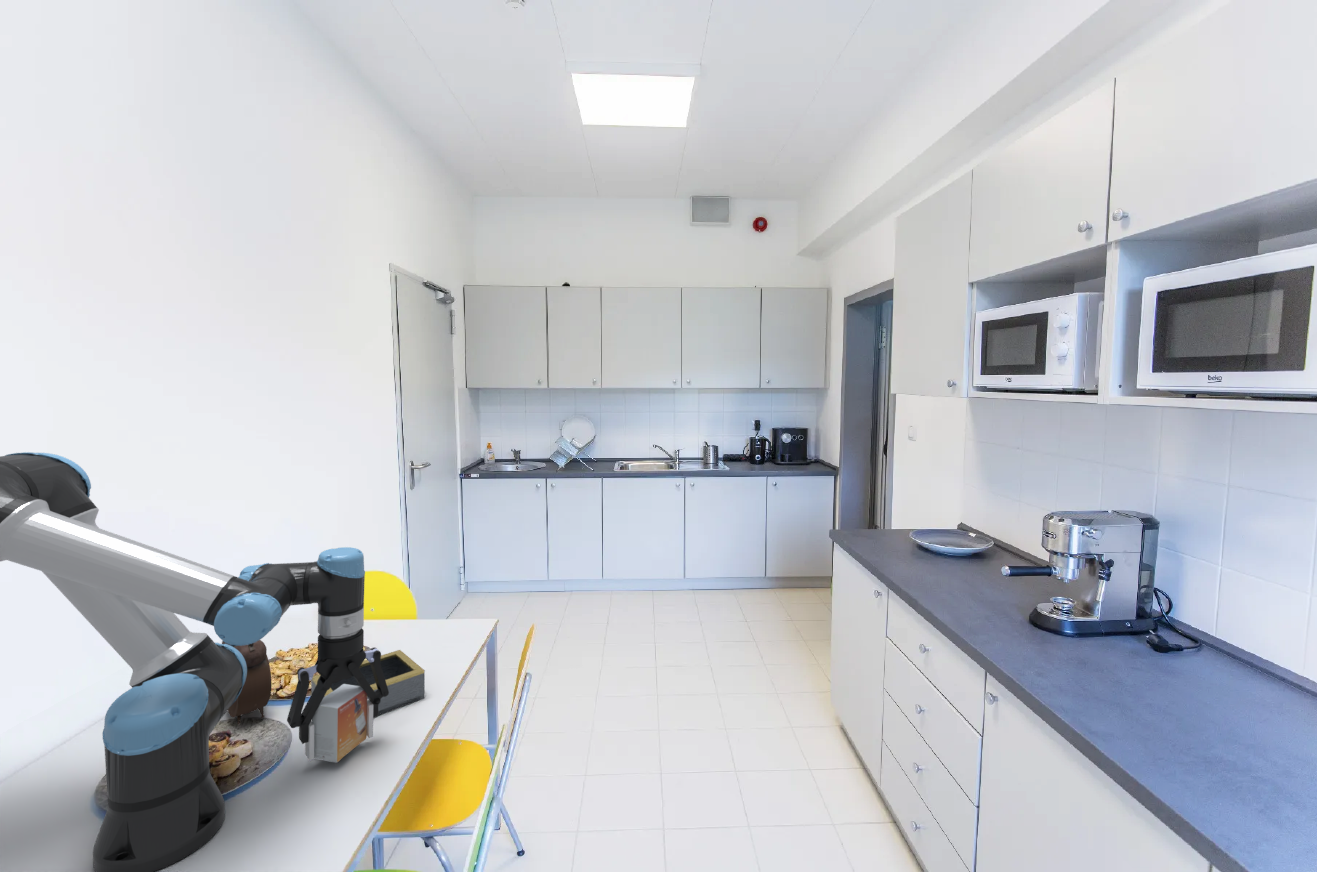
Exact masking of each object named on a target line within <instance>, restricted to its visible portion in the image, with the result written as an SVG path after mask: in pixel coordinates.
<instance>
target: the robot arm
mask: <svg viewBox="0 0 1317 872" xmlns="http://www.w3.org/2000/svg"><path fill="white" fill-rule="evenodd" d="M91 489H92V483H91V480H90V478H89V475H88V474H87V473H86V471H85V470H84V469H83V468H82V467H81V466H80V465H79V464H78V463H76V462H74V461H73V460H71V459H69V458H66V457H64V456H61V455H58V454H53V453H49V452H29V451H28V452H26V451H25V452H14V453H9V454H6V455H2V456H0V562H4V561H9V562H11V563H14V564H18V565H21V566H23V567H24V566H25V567H26V568H27V567H28V568H31V569H34V570H37V571H39V572H42V573H43V574H44V575H45V576H46V577H47V578H48V580H49V581H50V582H51V583H52V584H53V586H55V587H56V588H57V589H58V590H59V591H60V593H62V595H63V596H64V597H65V598H66V599H67V600H68V601H69V603H71V605H73V607H74V608H75V609H76V610H77V611H78V612H79V613H80V614H81V615H82V617H83V618H84V619H86V621H87V622H88V623H89V624H90V625H91V627H93V628H94V629H95V631H96V632H98V634H100V636H101V637H102V638H103V639H104V640H105V641H106V642H107V644H109V646H110V647H112V648H113V650H114V651H115V652H116V653H117V654H118V655H119V656H120V657H121V658H122V659H123V661H124V662H125V663H126V664H127V665H128V666H129V667H130V668H131V669H132V673H131V676H130V681H129V684H128V685H130V686H131V688H129V689H128V690H125V692H124V693H122V694H121V695H120V696H118V697H117V698H116V699H115V700H114V701H113V702H112V703H111V705H110V706H109V707H108V709H107V710H106V713H105V717H104V722H103V723H104V725H103V729H102V733H101V734H102V740H103V747H104V759H105V761H104V762H105V778H106V780H105V781H106V795H107V810H106V812H105V815H104V817H103V820H102V823H101V825H100V828H99V831H98V834H97V837H96V839H95V842H94V846H93V849H92V862H93V863H92V865H93V870H94V871H95V872H156V871H159V870H162V869H164V868H166V867H169V866H171V865H173V864H174V863H177V862H179V861H181V860H182V859H184V858H186V857H188V856H189V855H191V854H193V853H194V852H196V851H197V850H199V849H200V848H201V847H202V846H203V845H205V844H206V843H207V842H209V840H211V839H212V838H213V837H214V836H215V834H216V833H218V832H219V830H220V829H221V828H222V826H223V824H224V821H225V818H226V811H225V810H226V809H225V808H226V807H225V805H226V804H225V799H224V796H223V794H222V793H221V791H220V789H219V787H218V785H217V783H216V782H215V780H214V778H213V777H212V775H211V771H210V751H209V750H210V748H209V746H210V745H209V744H210V743H209V742H210V741H209V739H210V734H211V733H212V732H213V731H214V730H215V727H216V726H217V725H218V723H220V720H221V719H222V718H223V716H225V714H226V713H227V712H228V709H229V707H230V706H231V705H232V704H233V703H234V702H235V701H236V699H237V698H238V696H239V694H240V693H241V690H242V687H243V685H244V683H245V681H246V677H247V665H246V661H245V659H244V657H243V656H242V654H241V653H240V652H239V651H238V650H237V649H235V648H234V647H232V646H230V645H235V646H243V645H249V644H252V643H255V642H257V641H259V640H262V639H263V638H264V637H266V636H267V634H269V633H270V632H271V631H272V630H273V629H274V628H275V627H276V626H277V625H278V624H279V623H280V621H281V618H282V617H283V615H284V614H285V613H286V612H287V610H289V608H290V607H291V606H301V605H312V604H317V606H318V607H317V634H319V635H318V636H317V660H316V661H315V663H314V665H312V666H309V667H306V668H305V667H301V666H300V667H299V668H298V669H297V671H296V673H297V684H296V686H295V690H294V694H293V697H292V701H291V704H290V707H289V711H288V715H287V718H286V723H288V725H289V727H290V728H291V729H295V728H298V738H299V739H298V740H299V741H300V742H301V744H302V745H303V744H305V746H304V747H305V748H304V755H305V757H306V758H307V760H308V762H311V761H314V760H315V759H314V724H313V723H312V718H313V716H314V715H315V713H316V711H317V709H318V707H319V705H320V703H321V701H322V699H323V698H324V696H325V694H326V692H327V690H329V689H330V687H331V685H332V683H333V684H334V683H337V682H339V681H341V680H345V679H350V678H351V677H352V676H353V677H354V678H355V679H356V681H357V682H358V683H359V685H360V686H361V687H362V688H363V689H364V691H365V692H366V694H367V696H368V697H369V699H368V700H367V738H368V739H370V738H373V737H374V719H375V718H378V704H379V703H380V702H381V700H380V699H381V698H382V697H386V696H387V695H388V694H389V691H388V688H387V684H386V681H385V677H384V674H383V670H382V667H381V664H380V660H381V655H382V651H380V650H379V649H378V648H377V647H372V648H371V649H370V650H366V651H365V650H364V639H365V638H364V634H365V632H364V628H363V627H364V623H365V622H364V621H365V620H364V618H365V617H364V616H365V615H364V614H365V612H364V611H365V609H364V608H365V578H366V577H365V576H366V575H365V574H366V571H365V561H364V560H365V558H364V553H363V551H362V550H361V549H359V548H356V547H348V546H347V547H346V546H345V547H337V548H330V549H326V550H323V551H321V552H320V553H319V554H318V559H317V560H316V561H310V562H308V561H307V562H287V563H285V562H284V563H269V562H266V563H263V564H256V565H255V564H254V565H248V566H245V567H244V568H243V569H241V570H240V572H239V576H234V575H233V574H230V573H227V572H225V571H222V570H218V569H215V568H213V567H210V566H208V565H204V564H202V563H198V562H195V561H193V560H190V559H187V558H184V557H182V556H178V555H176V554H174V553H171V552H168V551H165V550H162V549H159V548H156V547H154V546H150V545H148V544H144V543H142V542H140V541H136V540H133V539H131V538H127V537H126V536H122V535H119V534H116V533H114V532H111V531H109V530H105V529H103V528H99V526H98V525H97V523H96V519H97V516H98V514H99V511H100V509H99V508H98V507H97V506H96V504H95V503H94V502H93V500H92V499H91V498H90V496H91V494H90V492H91ZM177 615H179V616H181V617H186V618H189V619H191V620H195V621H197V622H198V621H199V622H202V623H204V624H207V625H210V626H211V627H213V630H214V632H215V634H216V635H217V637H218V638H219V639H220V640H222V641H224V642H225V643H227V644H222V643H219V642H215V641H214V640H213V639H212V638H211V637H210V636H209V635H208V633H205V632H192V631H190V630H189V629H188V628H187V626H186V625H185V624H184V623H183V621H182V620H180V618H179V617H178V616H177ZM228 644H230V645H228ZM365 660H368V661H369V662H370V665H371V668H372V672H373V675H374V679H375V682H376V685H377V689H378V690H377V691H375V692H374V690H373V689H372V687H371V686H370V685H369V683H368V682H367V680H366V679H365V678H364V676H363V674H362V673H361V672H360V670H359V667H360V666H361V664H362V663H363V661H365ZM316 673H317V674H318V675H319V674H320V677H319V679H318V681H317V685H316V687H315V689H314V691H313V693H312V694H311V695H310V697H309V699H308V700H307V702H306V698H307V694H308V690H309V687H310V682H311V680H312V678H313V676H315V675H314V674H316ZM130 686H129V687H130ZM305 702H306V704H305Z"/></svg>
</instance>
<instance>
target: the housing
mask: <svg viewBox="0 0 1317 872" xmlns="http://www.w3.org/2000/svg"><path fill="white" fill-rule="evenodd" d="M380 664H381V667H382V670H383V674H384V677H385V681H386V684H387V688H388V691H389V694H388V695H387V696H386V697H382V698H381V699H380V700H381V702H380V703H379V704H378V716H382V715H384V714H387V713H389V712H392V711H394V710H397V709H401V708H403V707H405V706H407V705H411V704H413V703H416V702H418V701H421V700H424V699H425V698H426V697H425V685H426V684H425V675H426V674H425V672H426V671H425V669H423V668H422V667H421V666H420V665H419V664H417V662H415V661H414V659H412V658H411V657H410V656H408V655H407V654H406V653H405V652H404V651H402V650H401V649H397V650H395V651H391V652H389V653H384V654H381V660H380ZM359 670H360V672H361V673H362V674H363V676H364V678H365V679H366V680H367V682H368V683H369V685H370V686H371V687H372V689H373V690H374V692H375V691H377V690H378V689H377V685H376V682H375V679H374V675H373V672H372V668H371V665H370V662H369V661H368V660H367V659H365V660H364V661H363V663H362V664H361V666H360V667H359ZM319 677H320V674H319V673H318V674H317V675H313V678H312V680H310V683H311V684H310V686H311V689H310V690H311V695H312V693H313V691H314V689H315V687H316V685H317V681H318V679H319ZM343 684H348V685H354V686H360V685H359V683H358V682H357V681H356V679H355V678H354V677H353V676H352V677H351V678H350V679H345V680H341V681H339V682H337V683H334V684H333V683H332V685H331V687H330V689H329V690H327V692H326V694H325V696H327V695H328V694H330V693H331V692H333V691H334V690H336V689H337V688H339V687H340V686H341V685H343ZM360 687H361V686H360ZM325 696H324V697H325ZM368 699H369V697H368V696H367V700H368ZM378 716H377V717H378Z"/></svg>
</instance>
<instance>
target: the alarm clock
mask: <svg viewBox="0 0 1317 872" xmlns="http://www.w3.org/2000/svg"><path fill="white" fill-rule="evenodd" d="M221 644H227V643H225V642H224V641H223V640H222V641H221ZM228 645H230V644H228ZM230 646H232V647H234V648H235V649H237V650H238V651H239V652H240V653H241V654H242V656H243V657H244V659H245V661H246V665H247V677H246V681H245V683H244V685H243V687H242V690H241V693H240V694H239V696H238V698H237V699H236V701H235V702H234V703H233V704H232V705H231V706H230V707H229V709H228V710H227V713H228V715H229V716H230V718H236V719H237V723H236V724H237V725H241V723H242V721H241V719H242V716H244V715H248V714H251V713H253V712H255V711H258V712H259V714H260V719H264V718H265V714H264V713H265V712H264V711H265V710H264V709H265V708H264V707H266V706H267V705H268V704H269V702H270V701H269V700H270V698H271V696H272V687H273V686H272V673H271V666H270V661H269V657H268V654H267V646H266V644H265V642H263V641H262V639H260V640H259V641H257V642H255V643H252V644H249V645H243V646H235V645H230Z"/></svg>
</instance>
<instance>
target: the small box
mask: <svg viewBox="0 0 1317 872" xmlns="http://www.w3.org/2000/svg"><path fill="white" fill-rule="evenodd" d="M311 721H312V723H313V724H314V760H315V759H316V760H320V761H325V762H329V763H338V762H340V761H341V760H342V759H343V758H344V757H346V755H347V754H349V753H350V752H351V751H353V750H354V749H355V748H357V746H359V745H360V744H361V743H363V742H364V741H366V739H367V738H368V737H367V694H366V692H365V691H364V689H363V688H362V687H360V686H354V685H348V684H343V685H341V686H340V687H339V688H337V689H336V690H334V691H333V692H331V693H330V694H328V695H327V696H325V697H324V698H323V699H322V701H321V703H320V705H319V707H318V709H317V711H316V713H315V715H314V716H313V718H312V720H311Z"/></svg>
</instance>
